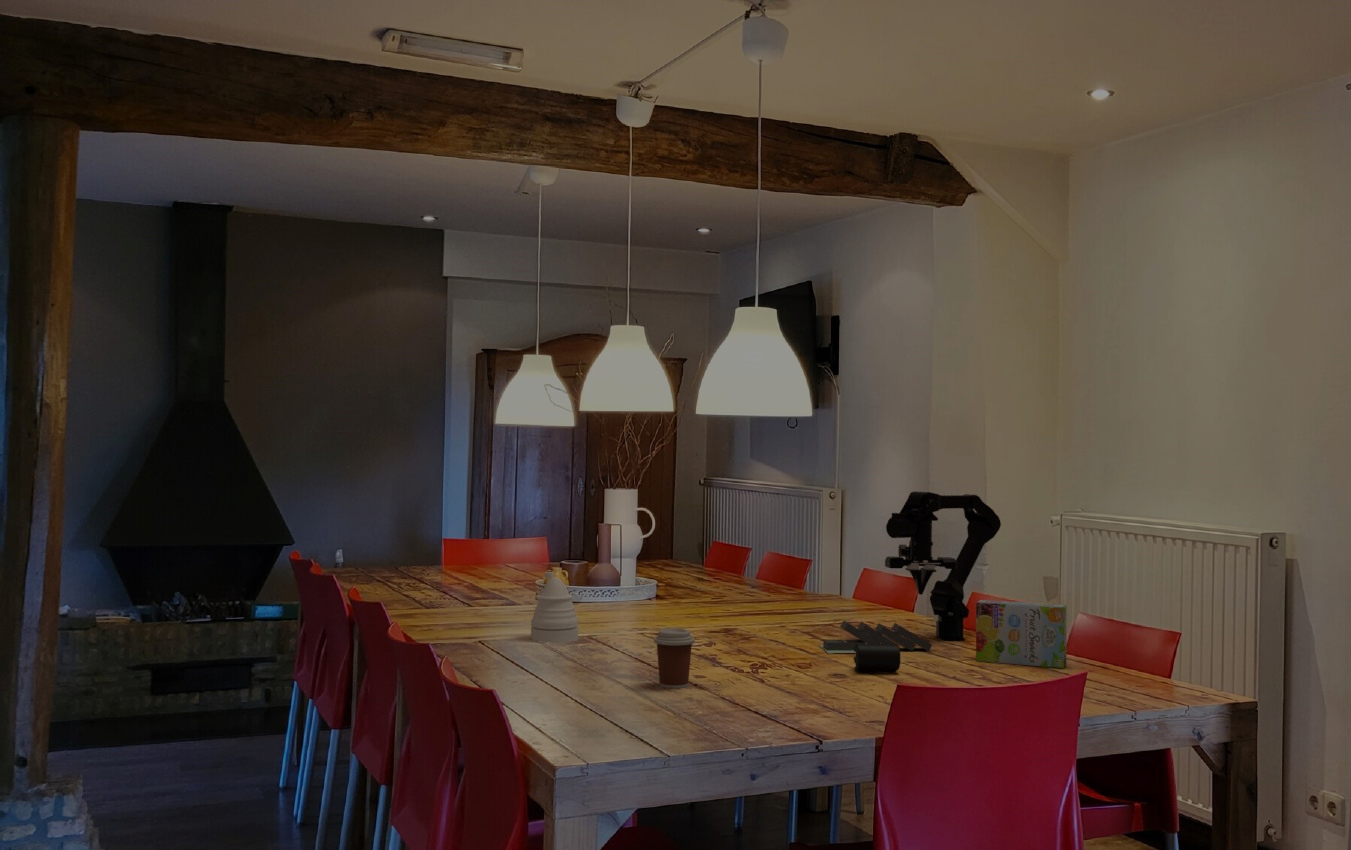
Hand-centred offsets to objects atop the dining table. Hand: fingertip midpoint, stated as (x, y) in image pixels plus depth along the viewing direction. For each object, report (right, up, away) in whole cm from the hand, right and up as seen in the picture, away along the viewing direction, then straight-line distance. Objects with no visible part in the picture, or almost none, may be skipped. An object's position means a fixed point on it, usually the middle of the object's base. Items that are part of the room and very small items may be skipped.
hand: (920, 594), depth 310 cm
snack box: (+18, -13, -30) cm, 37 cm away
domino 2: (-10, -12, -13) cm, 20 cm away
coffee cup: (-68, -11, -60) cm, 91 cm away
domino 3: (-5, -12, -13) cm, 18 cm away
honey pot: (-100, -12, -2) cm, 101 cm away
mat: (-24, -12, -14) cm, 30 cm away
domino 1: (-14, -11, -13) cm, 23 cm away
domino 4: (-1, -12, -12) cm, 17 cm away
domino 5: (-18, -11, -14) cm, 25 cm away
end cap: (-20, -12, -43) cm, 49 cm away
